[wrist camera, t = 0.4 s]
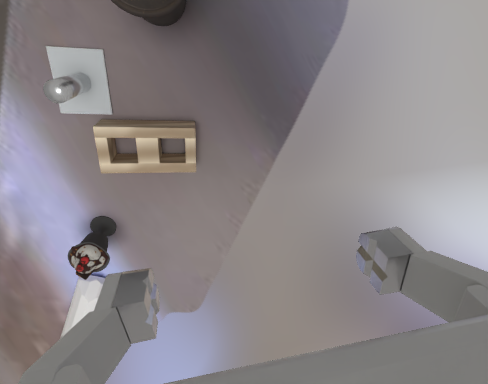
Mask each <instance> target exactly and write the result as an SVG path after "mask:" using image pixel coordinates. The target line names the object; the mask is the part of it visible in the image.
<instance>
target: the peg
mask: <svg viewBox="0 0 488 384" xmlns="http://www.w3.org/2000/svg"><path fill="white" fill-rule="evenodd" d="M90 88H91V81H90V79H89V77H88V76H87V75H85V74H84V73H80V72H78V73H74V74H70V75H66V76H63V77H59V78H55V79H51V80H48V81H47V82H46V83H45V84H44V87H43V90H44V94H45V95H46V97H47V98H48V99H49V100H50V101H52V102H54V103H64V102H66V101H68V100H70V99H72V98H74V97H76V96H79V95H81V94H83V93H85V92H87V91H89V90H90Z"/></svg>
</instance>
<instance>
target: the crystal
mask: <svg viewBox="0 0 488 384" xmlns="http://www.w3.org/2000/svg"><path fill="white" fill-rule="evenodd" d="M104 281H105V278H102V277H98V276H92V275H90V276H89V277H88V278H87V280H84V279H83V278H81V277H79V278H78V281H77V285H76V288H75V291H74V295H73V298H72V301H71V304H70V308H69V311H68V314H67V318H66V321H65V324H64V328H63V331H62V334H61V338H62V337H63V336H64V335H65V334H66V333H67V332H68V331H69V330H70V329H71V328H73V327H74V326H75V325H76V324H77V323H78V322H79V321H80V320H81V319H82V318H83V317H84V316H85V315H87V314H88V313H89V312H92V311H94V309H95V306H96V303H97V300H98V298H99V295H100V292H101V289H102V286H103V283H104Z"/></svg>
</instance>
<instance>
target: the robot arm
mask: <svg viewBox="0 0 488 384" xmlns="http://www.w3.org/2000/svg"><path fill="white" fill-rule="evenodd" d="M358 242H359V243H360V244H361V246H360V248H359V249H358V250H357V255H356V258H357V263H358V266H359V268H360V269H361V271H362V272H363V274H365V275H367V276H369V277H370V283H371V284H372V286H373V287H374V288H375V290H376V291H377V292H378V293H379V294H380V295H382V294H388V293H394V292H400V291H401V293H402V294H404V295H406V296H407V297H409V298H410V299H412V300H413V301H415V302H417V303H418V304H420V305H422V306H423V307H425V308H427V309H428V310H430V311H431V312H433V313H434V314H436V315H438V316H440V317H441V318H443V319H444V320H446V321H447V322H449V323H445V324H440V325H436V326H431V327H426V328H422V329H417V330H412V331H408V332H403V333H398V334H394V335H389V336H384V337H380V338H375V339H370V340H366V341H361V342H356V343H352V344H347V345H342V346H338V347H333V348H328V349H324V350H319V351H314V352H310V353H305V354H300V355H296V356H291V357H287V358H282V359H277V360H272V361H268V362H263V363H258V364H254V365H249V366H245V367H240V368H235V369H231V370H226V371H221V372H216V373H212V374H207V375H202V376H198V377H193V378H188V379H183V380H179V381H175V382H169V383H165V384H488V272H486V271H484V270H481V269H478V268H475V267H473V266H470V265H468V264H465V263H462V262H459V261H457V260H454V259H451V258H449V257H446V256H443V255H440V254H438V253H435V252H433V251H426V250H425V249H424V248H423V247H422V246H420V245H419V244H418V243H417V242H416V241H415V240H413V239H412V238H411V237H410V236H409V235H408V234H407V233H405V232H404V231H403V230H402V229H401V228H398V227H393V228H388V229H384V230H378V231H372V232H367V233H361V235H360V236H359V241H358ZM159 305H160V302H159V291H158V287H157V285H156V284H155V283H154V273H153V270H152V269H151V268H148V269H141V270H134V271H127V272H122V273H114V274H108V275H107V276H106V278H105V281H104V283H103V286H102V289H101V292H100V295H99V298H98V300H97V303H96V306H95V309H94V311H92V312H89V313H88V314H87V315H85V316H84V317H83V318H82V319H81V320H80V321H79V322H78V323H77V324H76V325H75V326H74V327H73V328H71V329H70V330H69V331H68V332H67V333H66V334H65V335H64V336H63V337H62V338H61V339H60V340H59V341H58V342H56V343H55V344H54V345H53V346H52V347H51V348H50V349H49V350H48V351H47V352H46V353H45V354H44V355H42V356H41V357H40V358H39V359H38V360H37V361H36V362H35V363H34V364H33V365H32V366H31V367H30V368H29V369H27V370H26V371H25V372H24V373H23V375H22V377H21V379H20V381H19V383H18V384H105V382H106V381H107V380H108V378H109V377H110V375H111V374H112V372H113V371H114V369H115V368H116V366H117V365H118V363H119V362H120V361H121V359H122V358H123V356H124V355H125V353H126V352H127V350H128V349H129V347H130V346H131V345H130V344H133V343H138V342H142V341H147V340H151V339H155V338H156V334H157V325H158V321H157V317H156V314H157V313H158V312H159Z"/></svg>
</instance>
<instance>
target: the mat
mask: <svg viewBox="0 0 488 384" xmlns="http://www.w3.org/2000/svg"><path fill="white" fill-rule="evenodd" d="M46 49H47V53H48V58H49V62H50V66H51V71H52V75H53V79H55V78H59V77H63V76H66V75H70V74H74V73H78V72H80V73H84V74H85V75H87V76H88V77H89V79H90V81H91V88H90V90H89V91H87V92H85V93H83V94H81V95H79V96H76V97H74V98H72V99H70V100H68V101H66V102H64V103H59V106H60V111H61V113H72V114H113V113H112V106H111V99H110V92H109V85H108V78H107V71H106V65H105V58H104V51H103V49H86V48H69V47H52V46H46Z"/></svg>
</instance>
